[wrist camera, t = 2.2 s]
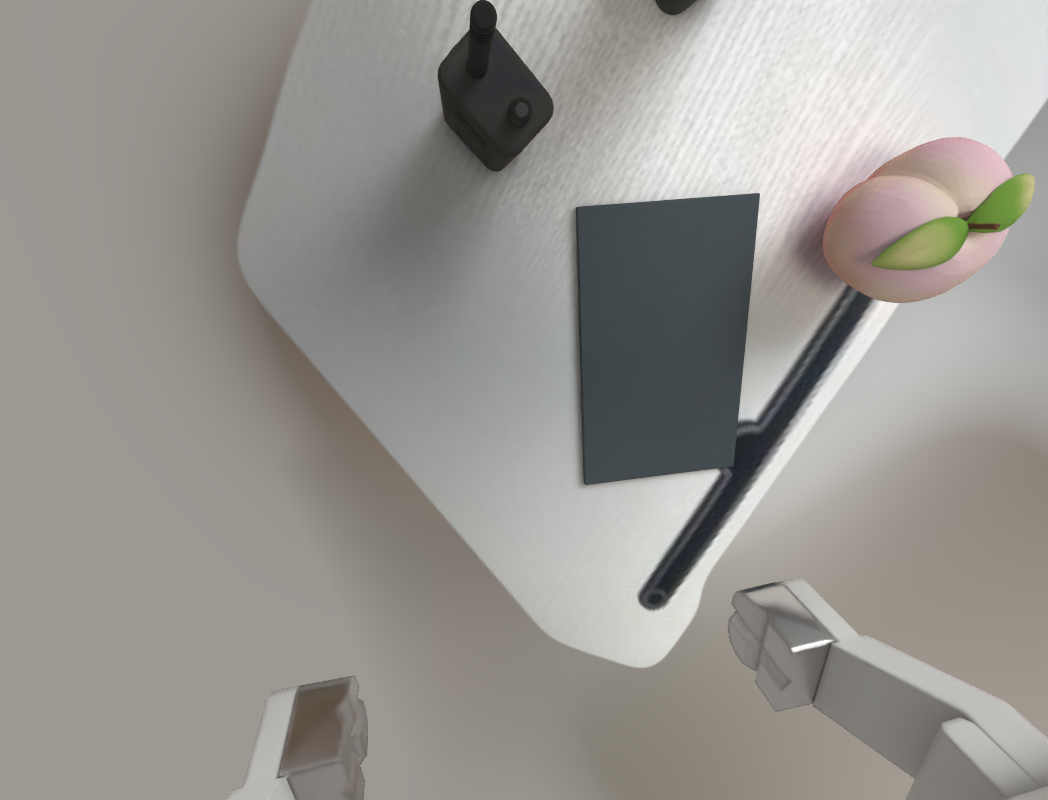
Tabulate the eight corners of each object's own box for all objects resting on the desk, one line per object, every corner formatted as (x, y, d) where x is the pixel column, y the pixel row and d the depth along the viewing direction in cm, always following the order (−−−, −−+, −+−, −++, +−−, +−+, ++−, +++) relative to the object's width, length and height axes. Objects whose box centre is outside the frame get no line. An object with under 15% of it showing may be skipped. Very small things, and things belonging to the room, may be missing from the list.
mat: (730, 463, 40) (733, 466, 39) (583, 481, 39) (585, 485, 38) (756, 193, 32) (760, 193, 32) (575, 207, 31) (577, 207, 31)
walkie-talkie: (532, 137, 30) (597, 71, 16) (492, 180, 30) (521, 154, 16) (473, 67, 28) (487, -75, 14) (432, 114, 28) (407, 22, 15)
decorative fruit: (815, 315, 36) (939, 351, 27) (767, 219, 33) (888, 222, 24) (931, 232, 35) (1103, 240, 25) (892, 125, 32) (1070, 90, 23)
